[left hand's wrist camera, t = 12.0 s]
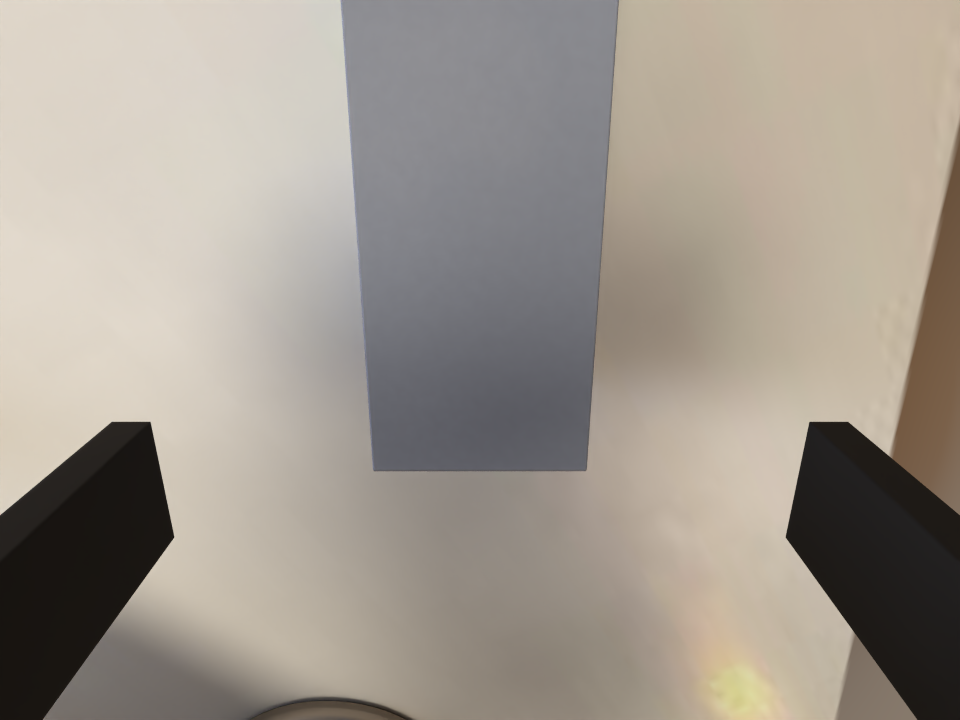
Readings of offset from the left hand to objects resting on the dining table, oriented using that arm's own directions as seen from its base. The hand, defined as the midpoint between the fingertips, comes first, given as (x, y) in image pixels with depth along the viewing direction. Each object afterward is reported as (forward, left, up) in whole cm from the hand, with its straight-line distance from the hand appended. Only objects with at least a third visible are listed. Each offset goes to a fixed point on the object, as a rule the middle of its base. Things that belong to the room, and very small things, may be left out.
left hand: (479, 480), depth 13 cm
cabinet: (+6, -1, -16) cm, 17 cm away
